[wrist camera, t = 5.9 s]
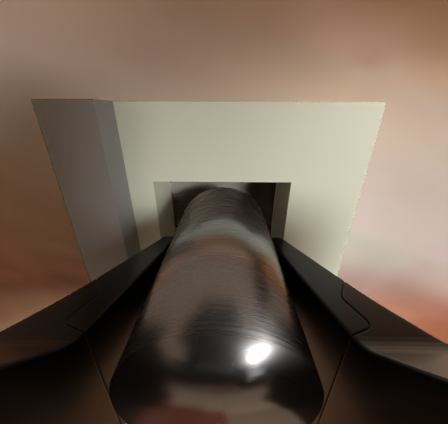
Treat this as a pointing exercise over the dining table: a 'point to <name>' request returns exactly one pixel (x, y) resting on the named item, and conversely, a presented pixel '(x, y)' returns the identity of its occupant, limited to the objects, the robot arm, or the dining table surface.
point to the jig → (206, 167)
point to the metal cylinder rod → (218, 328)
